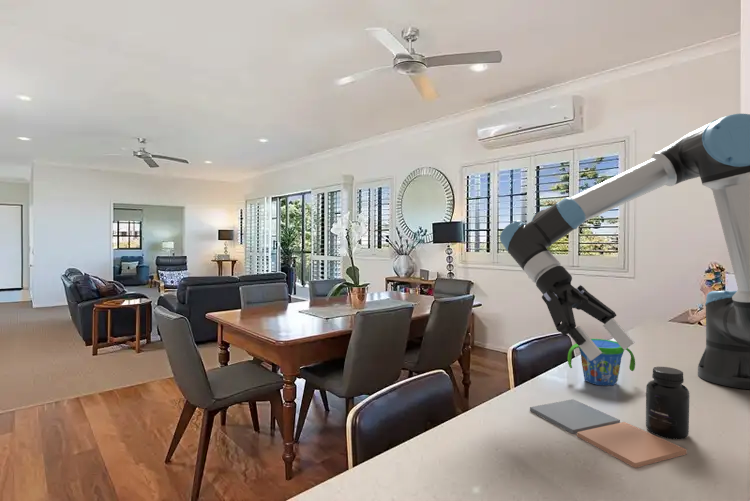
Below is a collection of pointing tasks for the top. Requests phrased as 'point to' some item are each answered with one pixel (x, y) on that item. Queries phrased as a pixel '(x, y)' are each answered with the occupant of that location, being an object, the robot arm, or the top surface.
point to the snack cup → (602, 362)
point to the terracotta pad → (631, 444)
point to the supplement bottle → (667, 404)
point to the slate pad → (573, 415)
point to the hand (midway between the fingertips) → (613, 351)
